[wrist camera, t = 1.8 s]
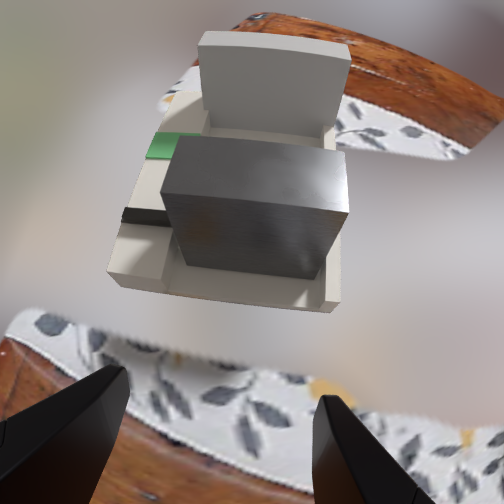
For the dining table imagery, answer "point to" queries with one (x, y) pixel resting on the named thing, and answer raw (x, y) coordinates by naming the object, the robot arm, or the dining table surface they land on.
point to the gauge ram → (252, 205)
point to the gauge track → (239, 127)
